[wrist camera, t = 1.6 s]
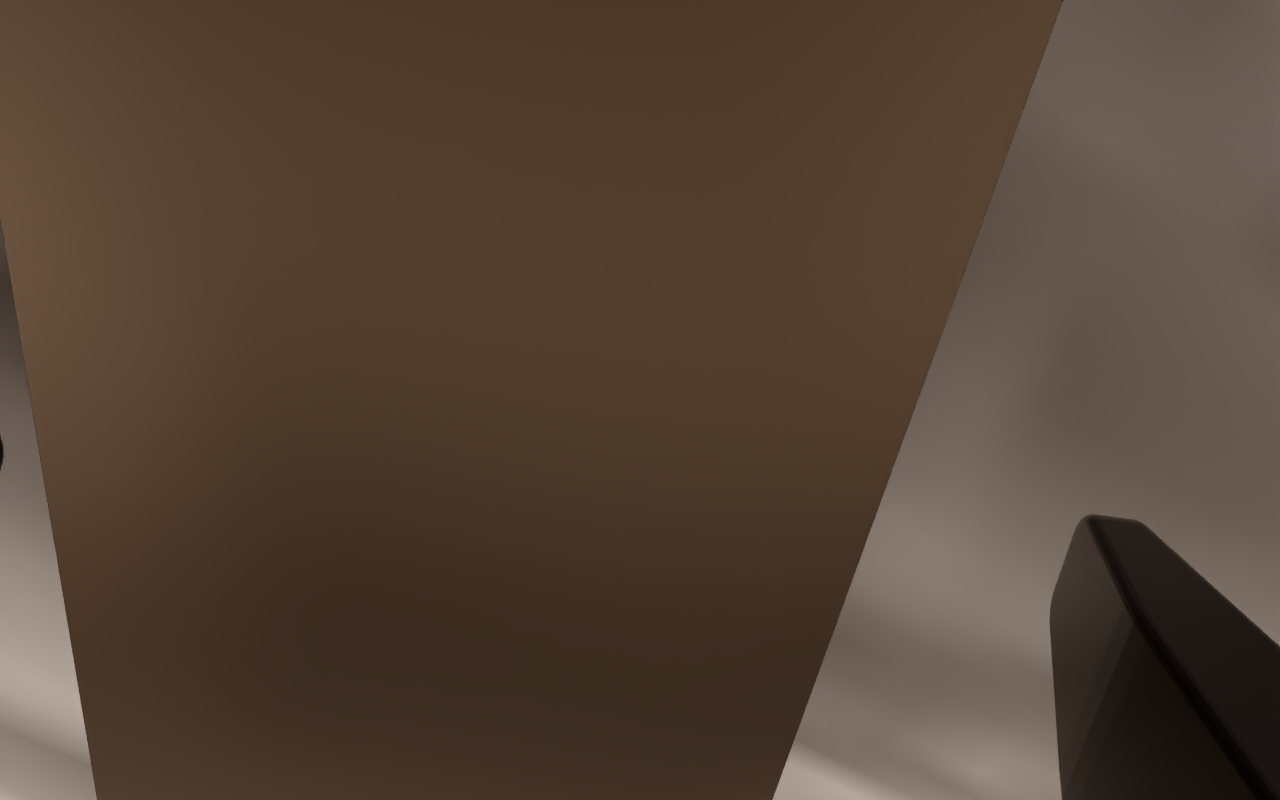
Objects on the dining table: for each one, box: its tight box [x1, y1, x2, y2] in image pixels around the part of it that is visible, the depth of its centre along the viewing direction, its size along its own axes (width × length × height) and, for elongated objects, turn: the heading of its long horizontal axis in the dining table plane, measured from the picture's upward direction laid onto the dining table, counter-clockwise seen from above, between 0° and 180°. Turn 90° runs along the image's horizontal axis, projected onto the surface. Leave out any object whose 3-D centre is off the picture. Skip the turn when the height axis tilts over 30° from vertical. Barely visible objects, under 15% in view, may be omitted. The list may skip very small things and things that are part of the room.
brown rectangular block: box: [0, 0, 1063, 800], centre depth 9 cm, size 12×4×5 cm, turn 171°
